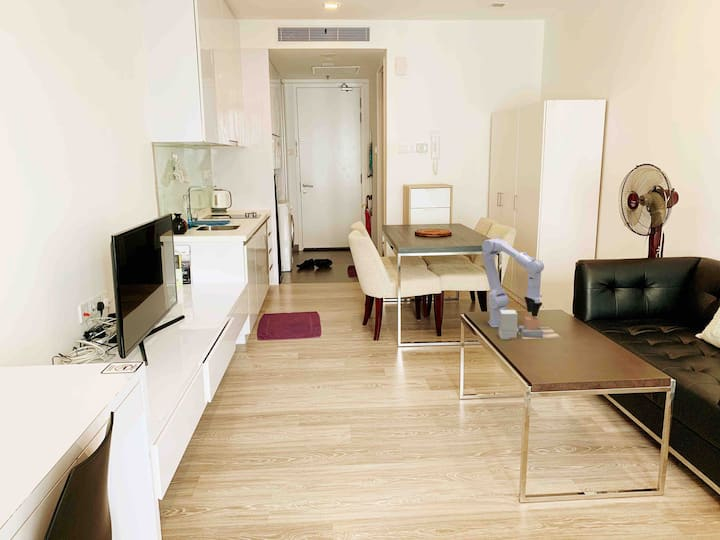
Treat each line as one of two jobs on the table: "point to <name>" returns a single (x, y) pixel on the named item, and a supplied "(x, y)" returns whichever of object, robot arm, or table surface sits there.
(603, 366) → the table surface
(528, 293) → the robot arm
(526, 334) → the base board
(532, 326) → the block
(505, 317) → the supplement box
